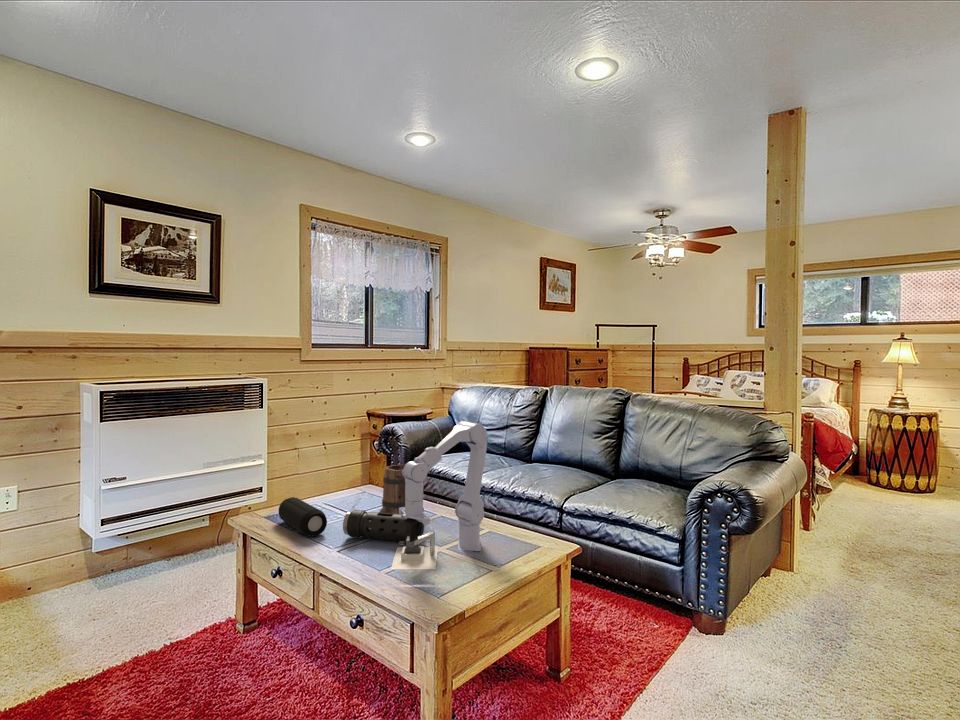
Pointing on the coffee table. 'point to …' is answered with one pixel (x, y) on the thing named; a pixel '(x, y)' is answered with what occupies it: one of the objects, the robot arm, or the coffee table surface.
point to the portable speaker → (302, 516)
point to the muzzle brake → (376, 525)
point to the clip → (421, 539)
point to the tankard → (393, 490)
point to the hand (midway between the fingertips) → (413, 541)
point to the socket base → (414, 559)
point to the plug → (413, 549)
